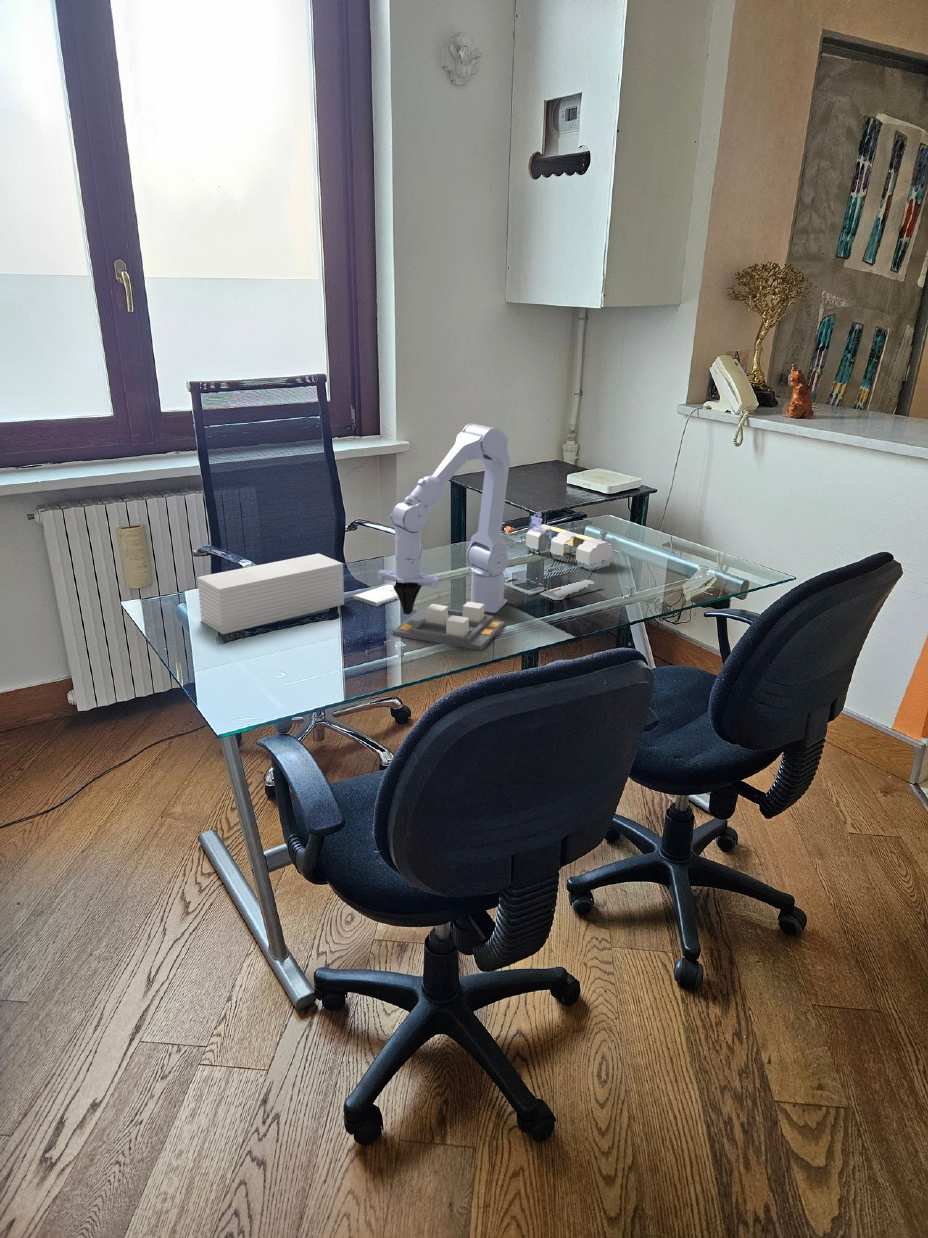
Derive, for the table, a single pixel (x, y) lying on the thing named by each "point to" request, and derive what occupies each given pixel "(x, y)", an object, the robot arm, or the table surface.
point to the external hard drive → (377, 595)
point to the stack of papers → (270, 592)
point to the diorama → (569, 542)
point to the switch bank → (436, 633)
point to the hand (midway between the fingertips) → (407, 612)
